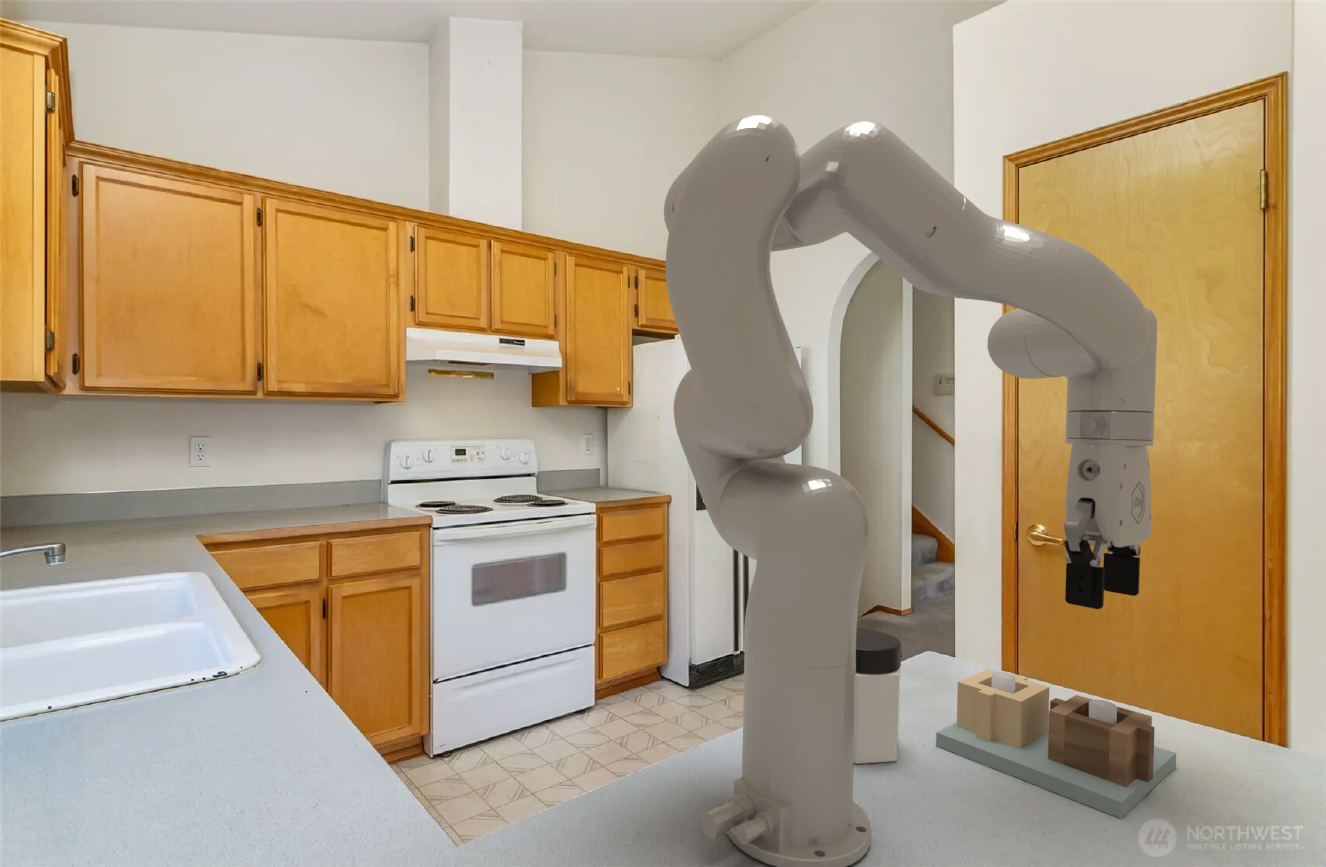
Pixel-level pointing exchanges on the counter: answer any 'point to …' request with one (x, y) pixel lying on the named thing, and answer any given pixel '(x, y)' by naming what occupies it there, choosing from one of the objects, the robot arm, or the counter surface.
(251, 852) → the counter surface
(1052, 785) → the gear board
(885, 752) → the jar
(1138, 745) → the ribbed wooden holder
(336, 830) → the counter surface
